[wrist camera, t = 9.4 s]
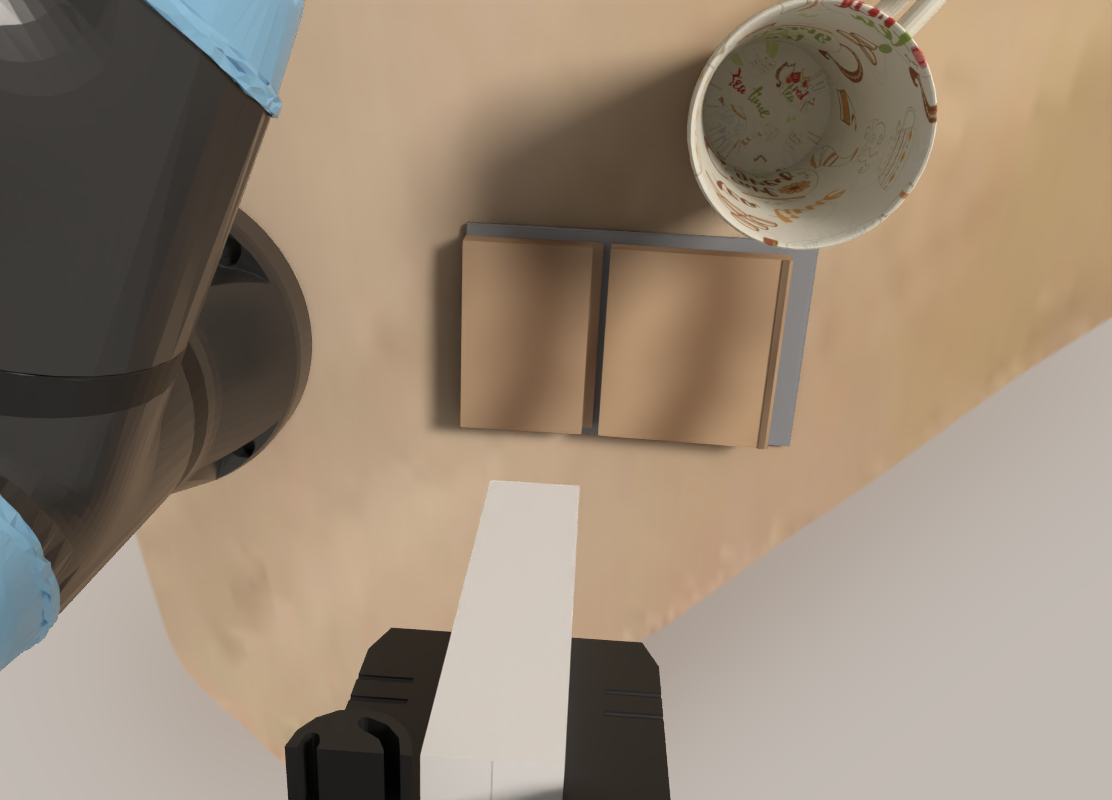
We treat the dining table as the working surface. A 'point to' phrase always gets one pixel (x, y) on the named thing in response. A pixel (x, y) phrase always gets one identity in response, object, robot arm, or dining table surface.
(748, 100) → the mug
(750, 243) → the underlay
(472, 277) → the laid plank
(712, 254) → the plank
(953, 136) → the dining table surface
